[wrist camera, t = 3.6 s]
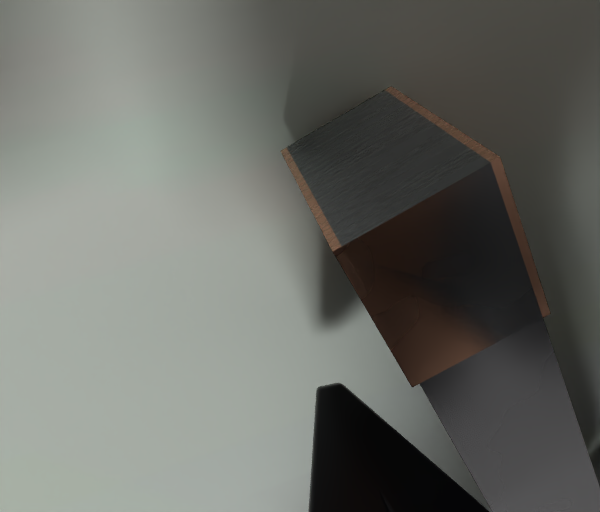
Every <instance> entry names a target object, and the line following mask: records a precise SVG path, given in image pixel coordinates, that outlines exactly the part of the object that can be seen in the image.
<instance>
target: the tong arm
mask: <svg viewBox="0 0 600 512" xmlns="http://www.w3.org/2000/svg"><path fill="white" fill-rule="evenodd" d="M281 153H282V155H283V157H284V159H285V160H286V162H287V164H288V166H289V168H290V170H291V172H292V174H293V176H294V178H295V180H296V182H297V184H298V186H299V187H300V189H301V191H302V193H303V195H304V197H305V199H306V201H307V203H308V205H309V207H310V209H311V211H312V213H313V215H314V216H315V218H316V220H317V222H318V224H319V226H320V228H321V230H322V232H323V234H324V236H325V238H326V240H327V242H328V244H329V245H330V247H331V249H332V251H333V253H334V255H335V256H336V258H337V260H338V262H339V263H340V265H341V267H342V268H343V270H344V272H345V274H346V275H347V277H348V279H349V280H350V282H351V284H352V285H353V287H354V289H355V291H356V292H357V294H358V296H359V297H360V299H361V301H362V303H363V304H364V306H365V308H366V309H367V311H368V313H369V315H370V316H371V318H372V320H373V321H374V323H375V325H376V327H377V328H378V330H379V332H380V333H381V335H382V337H383V339H384V340H385V342H386V344H387V345H388V347H389V349H390V350H391V352H392V354H393V356H394V357H395V359H396V361H397V362H398V364H399V366H400V368H401V369H402V371H403V373H404V374H405V376H406V378H407V380H408V381H409V383H410V385H411V386H412V387H414V386H416V385H418V384H420V385H421V387H422V388H423V390H424V392H425V394H426V395H427V397H428V399H429V401H430V403H431V404H432V406H433V408H434V410H435V411H436V413H437V415H438V417H439V418H440V420H441V422H442V424H443V425H444V427H445V429H446V431H447V432H448V434H449V436H450V438H451V439H452V441H453V443H454V445H455V446H456V448H457V450H458V452H459V453H460V455H461V457H462V459H463V461H464V462H465V464H466V466H467V468H468V469H469V471H470V473H471V475H472V476H473V478H474V480H475V482H476V483H477V485H478V487H479V489H480V490H481V492H482V494H483V496H484V497H485V499H486V501H487V503H488V504H489V506H490V508H491V510H492V512H600V486H599V483H598V480H597V478H596V475H595V472H594V469H593V466H592V463H591V460H590V457H589V454H588V451H587V448H586V445H585V442H584V439H583V436H582V433H581V430H580V427H579V424H578V421H577V418H576V415H575V412H574V409H573V406H572V403H571V400H570V397H569V394H568V391H567V388H566V385H565V382H564V379H563V376H562V373H561V370H560V367H559V364H558V361H557V358H556V355H555V352H554V349H553V346H552V343H551V340H550V338H549V335H548V332H547V329H546V326H545V323H544V320H543V318H544V317H546V316H547V315H549V314H551V313H550V310H549V307H548V304H547V300H546V297H545V294H544V291H543V288H542V285H541V282H540V279H539V276H538V272H537V269H536V266H535V263H534V260H533V257H532V254H531V251H530V248H529V245H528V241H527V238H526V235H525V232H524V229H523V226H522V223H521V220H520V217H519V214H518V210H517V207H516V204H515V201H514V198H513V195H512V192H511V189H510V186H509V183H508V179H507V176H506V173H505V170H504V167H503V164H502V161H501V158H500V157H499V156H498V155H496V154H495V153H493V152H492V151H490V150H489V149H487V148H485V147H484V146H482V145H481V144H479V143H478V142H476V141H475V140H473V139H472V138H470V137H468V136H467V135H465V134H464V133H462V132H461V131H459V130H458V129H456V128H455V127H453V126H452V125H450V124H448V123H447V122H445V121H444V120H442V119H441V118H439V117H438V116H436V115H435V114H433V113H432V112H430V111H428V110H427V109H425V108H424V107H422V106H421V105H419V104H418V103H416V102H415V101H413V100H411V99H410V98H408V97H407V96H405V95H404V94H402V93H401V92H399V91H398V90H396V89H395V88H393V87H389V88H387V89H386V90H384V91H382V92H381V93H379V94H377V95H375V96H374V97H372V98H370V99H369V100H367V101H365V102H364V103H362V104H360V105H358V106H357V107H355V108H353V109H352V110H350V111H348V112H346V113H345V114H343V115H341V116H340V117H338V118H336V119H334V120H333V121H331V122H329V123H328V124H326V125H324V126H322V127H321V128H319V129H317V130H316V131H314V132H312V133H311V134H309V135H307V136H305V137H304V138H302V139H300V140H299V141H297V142H295V143H293V144H292V145H290V146H288V147H287V148H285V149H283V150H281Z"/></svg>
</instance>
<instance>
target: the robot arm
mask: <svg viewBox="0 0 600 512" xmlns="http://www.w3.org/2000/svg"><path fill="white" fill-rule="evenodd" d="M309 512H489V511H488V510H487V509H486V508H485V507H483V506H482V505H481V504H480V503H479V502H478V501H477V500H475V499H474V498H473V497H472V496H471V495H470V494H468V493H467V492H466V491H465V490H464V489H463V488H462V487H460V486H459V485H458V484H457V483H456V482H455V481H454V480H452V479H451V478H450V477H449V476H448V475H447V474H445V473H444V472H443V471H442V470H441V469H440V468H439V467H437V466H436V465H435V464H434V463H433V462H432V461H430V460H429V459H428V458H427V457H426V456H425V455H424V454H422V453H421V452H420V451H419V450H418V449H417V448H416V447H414V446H413V445H412V444H411V443H410V442H409V441H407V440H406V439H405V438H404V437H403V436H402V435H401V434H399V433H398V432H397V431H396V430H395V429H394V428H392V427H391V426H390V425H389V424H388V423H387V422H386V421H384V420H383V419H382V418H381V417H380V416H379V415H377V414H376V413H375V412H374V411H373V410H372V409H371V408H369V407H368V406H367V405H366V404H365V403H364V402H363V401H361V400H360V399H359V398H358V397H357V396H356V395H354V394H353V393H352V392H351V391H350V390H349V389H348V388H346V387H345V386H344V385H343V384H341V383H334V384H330V385H325V386H320V387H318V388H317V392H316V406H315V422H314V437H313V453H312V468H311V484H310V499H309Z"/></svg>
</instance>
